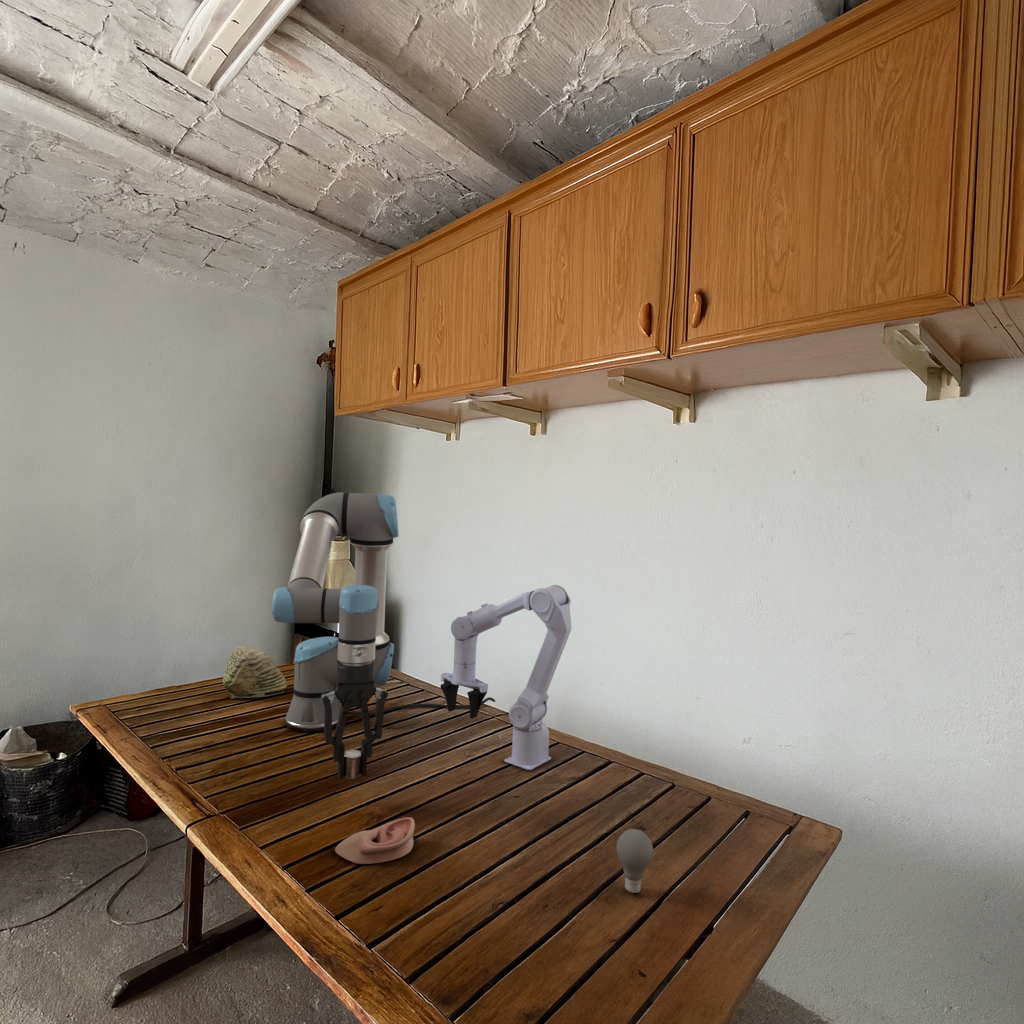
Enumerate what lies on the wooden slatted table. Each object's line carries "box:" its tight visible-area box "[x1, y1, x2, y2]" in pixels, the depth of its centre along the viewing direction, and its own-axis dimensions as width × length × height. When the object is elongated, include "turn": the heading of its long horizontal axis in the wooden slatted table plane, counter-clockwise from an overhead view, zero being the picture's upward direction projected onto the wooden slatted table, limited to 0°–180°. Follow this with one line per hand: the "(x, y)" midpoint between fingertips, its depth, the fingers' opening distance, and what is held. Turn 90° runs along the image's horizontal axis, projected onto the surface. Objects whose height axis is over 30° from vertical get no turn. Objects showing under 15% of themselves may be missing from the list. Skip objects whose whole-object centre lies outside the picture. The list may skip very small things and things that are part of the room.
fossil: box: [222, 646, 288, 699], centre depth 198 cm, size 9×18×15 cm, turn 132°
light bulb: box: [615, 828, 654, 894], centre depth 106 cm, size 6×6×10 cm
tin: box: [343, 749, 362, 780], centre depth 131 cm, size 4×4×4 cm
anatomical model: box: [334, 816, 416, 865], centre depth 115 cm, size 13×4×12 cm
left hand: (351, 774), depth 130 cm, fingers closed on tin, 4 cm apart
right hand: (462, 713), depth 165 cm, fingers open, 7 cm apart
